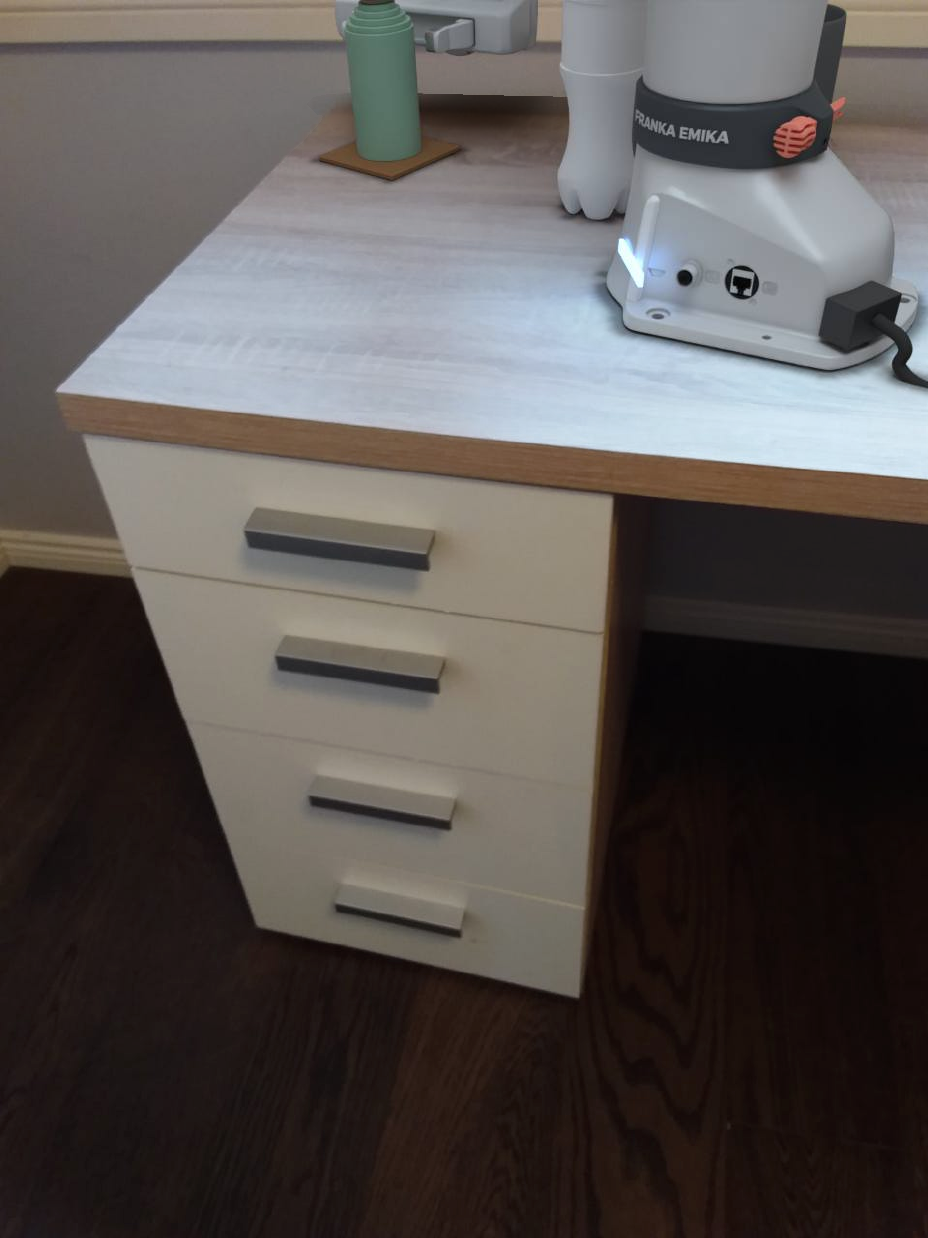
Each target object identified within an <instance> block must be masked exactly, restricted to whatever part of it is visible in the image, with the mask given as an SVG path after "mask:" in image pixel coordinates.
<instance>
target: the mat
mask: <svg viewBox="0 0 928 1238" xmlns="http://www.w3.org/2000/svg"><path fill="white" fill-rule="evenodd" d="M421 146H422V149H421V151H420V152H419V153H418V154H417V155H415V156H413V157H410V158H407V159H403V160H398V161H388V162H380V161H371V160H367V159H364V158H362V157H360V156H359V155H358V152H357V143H356V141H353V142H351V143H348V144H346V145H343V146H342V147H339V148H336V149H334V150H331V151H329V152H327V153H323V154H321V155H319V156H318V160H319V161H321V162H324V163H328V164H330V165H331V164H332V165H334V166H338V167H342V168H346V169H349V170H353V171H356V172H361V173H365V174H368V175H372V176H374V177H379V178H381V179H386V180H389V181H395V180H396V179H399V178H401V177H403V176H405V175H408V174H410V173H412V172H415V171H417V170H418V169H421V168H424V167H425V166H428V165H430V164H433V163H435V162H437V161H439V160H441V159H444V158H445V157H448V156H450V155H452V154H453V155H454V154H455V153H458V152H459V151H461V146H460V145H457V144H453V143H449V142H444V141H441V140H436V139H431V138H428V137H424V136H421Z"/></svg>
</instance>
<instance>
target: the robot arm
mask: <svg viewBox="0 0 928 1238" xmlns="http://www.w3.org/2000/svg"><path fill="white" fill-rule="evenodd" d="M359 1H360V0H334V17H335V24H336V28H337V32H338V34H339V36H340V37H341V38H342V41H343V43H345V44H346V41H345V32H344V28H345V26H346V21H347V20H348V19H349V18H350V15H351V14H352V13H353V12H354V8H355V7H357V6H359V5H358V2H359ZM395 3H396V4H399V5H400V9H402V10H404V11H405V14H406V15H408V16H410V18H411V22H412V23H413V27H414V42H415V46H418V47H419V46H420V47H425V51H426V52H427V53H432V54H433V53H434V54H443V53H446V54H448V55H450V56H454V57H466V56H469V55H472V54H474V53H478V54H480V53H481V54H490V55H497V56H498V55H499V56H505V55H506V56H507V55H513V54H517V53H518V52H520V51H527V50H529V49H533V48H534V47H535V46H536V45H537V44H536V43H537V35H538V24H539V23H538V22H539V15H538V0H395ZM827 4H829V0H648V11H647V25H646V39H645V53H644V66H643V75H642V76H641V77H639V79H638V80H637V83H636V91H635V101H634V111H633V125H632V148H633V155H634V158H635V161H634V168H633V175H632V182H631V188H630V194H629V199H628V204H627V210H626V213H625V215H624V219H623V222H622V223H623V224H622V229H621V231H620V236H619V238H618V243H617V246H616V250H615V253H614V256H613V259H612V262H611V265H610V267H609V269H608V272H607V275H606V287H607V289H608V291H609V293H610V295H611V296H612V297H613V298H614V299H615V300H616V302H618V303H619V305H620V307H621V308H622V321H623V324H624V326H625V327H626V328H628V329H629V330H632V331H636V332H638V333H639V332H640V333H644V334H648V335H653V336H657V337H663V338H668V339H674V340H677V341H678V340H679V341H683V342H687V343H692V344H698V345H703V346H707V347H712V348H716V349H720V350H726V351H731V352H736V353H741V354H745V355H751V356H756V357H760V358H765V359H770V360H775V361H780V362H783V363H789V364H795V365H799V366H804V367H810V368H814V369H817V370H818V369H820V370H826V371H830V370H831V371H833V370H834V371H835V370H838V369H844V368H847V367H852V366H855V365H858V364H862V363H863V362H866V361H868V360H870V359H872V358H874V357H877V356H878V355H880V354H881V353H883V352H884V351H886V350H887V349H889V348H891V347H892V346H893V345H894V344H895V345H896V348H897V351H896V354H895V355H894V357H893V358H892V361H891V368H892V370H893V373H894V374H895V375H896V376H897V378H898V379H899V380H900V381H901V382H903V383H905V384H908V385H911V386H915V387H920V388H924V389H928V380H925V379H924V378H923V377H920V376H918V375H917V374H916V373H914V371H912V369H911V368H910V367H909V366H908V364H907V363H908V361H909V360H910V358H911V357H912V355H913V350H914V346H913V343H912V340H911V338H910V336H909V335H908V334H907V331H909V329H910V328H911V326H912V324H913V323H914V322H915V319H916V317H917V313H918V307H919V301H920V300H919V293H918V290H917V288H916V286H915V285H914V284H913V283H912V282H909V281H907V280H904V279H901V278H899V277H896V276H893V273H894V272H893V271H894V264H895V263H894V260H895V248H896V246H895V245H896V243H895V242H896V241H895V228H894V223H893V219H892V218H891V215H890V214H889V212H888V211H887V210H886V208H884V207H883V206H882V205H881V204H880V203H879V202H878V201H877V200H876V199H875V198H874V197H873V195H872V194H871V193H870V192H869V191H868V190H867V189H866V187H864V185H862V183H860V181H859V180H858V179H857V178H856V176H854V175H853V173H852V172H851V171H850V170H849V169H848V167H847V166H845V164H844V163H843V162H842V161H841V160H840V158H839V157H838V156H837V155H836V154H835V153H834V151H832V149H831V148H830V147H829V144H830V143H829V142H830V138H831V134H832V129H833V128H832V127H833V122H834V121H836V120H837V119H839V118H841V117H842V116H843V115H844V113H845V111H843V110H842V111H841V109H843V107H844V106H845V104H846V102H847V97H846V96H842V97H840V98H838V99H836V100H835V101H834V102H832V104H829V103H828V101H827V100H826V98H825V97H824V95H823V94H822V92H821V91H820V89H819V87H818V84H817V82H816V80H815V79H814V77H813V75H814V69H815V64H816V58H817V53H818V48H819V42H820V37H821V32H822V27H823V22H824V18H825V13H826V8H827Z"/></svg>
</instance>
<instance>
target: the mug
mask: <svg viewBox="0 0 928 1238" xmlns="http://www.w3.org/2000/svg"><path fill="white" fill-rule="evenodd" d="M847 16H848V15H847V11H846V10H845V9H844V8H843V7H840V6H837V5H834V4H831V3H828V4H827V8H826V13H825V18H824V22H823V27H822V32H821V37H820V42H819V48H818V53H817V58H816V64H815V69H814V75H813V77H814V79H815V80H816V82H817V84H818V87H819V89H820V91H821V92H822V94H823V95H824V97H825V98H826V100H827V101H828V103H829V104H832V103H833V98H834V95H835V88H836V83H837V78H838V73H839V67H840V62H841V55H842V50H843V44H844V38H845V32H846V31H845V30H846V24H847V18H848V17H847Z"/></svg>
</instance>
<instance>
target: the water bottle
mask: <svg viewBox="0 0 928 1238" xmlns="http://www.w3.org/2000/svg"><path fill="white" fill-rule="evenodd" d="M561 1H562V2H561V46H560V47H561V48H560V49H561V50H560V52H561V54H560V61H559V64H558V65H559V68H558V70H559V74H560V77H561V79H562V83H563V86H564V89H565V92H566V93H565V94H566V98H567V104H568V120H569V123H568V124H569V126H568V135H567V136H568V137H567V141H566V146H565V151H564V153H563V156H562V160H561V163H560V165H559V167H558V170H557V173H556V174H557V175H556V177H557V187H558V193H559V196H560V200H561V202H562V204H563V206H564V208H565V210H566V211H567V212H568V213H569V214H573V215H575V214H577V213H579V212H580V211H581V210H582V211H583V213H584V214H585V217H586V218H588V219H590V220H594V221H595V220H597V221H599V220H605V219H608V218H609V217H610V216H611V215H612V213H613V211H614V210H615V211H616V212H617V213H619V214H620V215H621V214H626V210H627V204H628V199H629V194H630V188H631V182H632V175H633V168H634V161H635V158H634V155H633V148H632V125H633V111H634V101H635V91H636V83H637V80H638V79H639V77H641V76H642V75H643V66H644V53H645V39H646V25H647V11H648V0H561Z"/></svg>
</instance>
